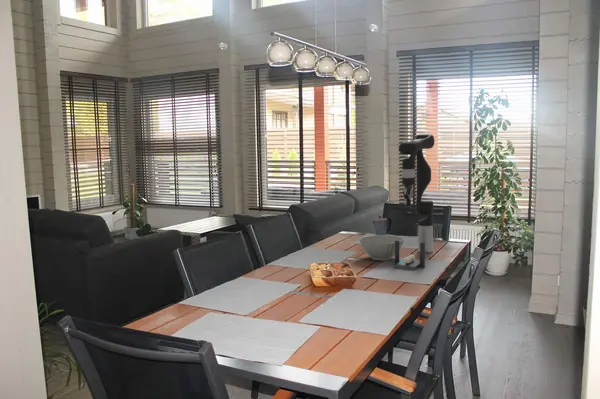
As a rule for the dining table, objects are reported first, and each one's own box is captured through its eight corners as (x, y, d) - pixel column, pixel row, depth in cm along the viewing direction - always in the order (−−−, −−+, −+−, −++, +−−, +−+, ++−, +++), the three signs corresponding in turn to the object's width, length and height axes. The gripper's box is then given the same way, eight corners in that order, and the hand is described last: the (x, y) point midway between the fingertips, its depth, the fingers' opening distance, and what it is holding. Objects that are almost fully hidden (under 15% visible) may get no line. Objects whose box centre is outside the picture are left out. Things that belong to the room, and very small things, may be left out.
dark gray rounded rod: (395, 264, 300) (395, 240, 299) (400, 264, 299) (399, 240, 297) (394, 264, 298) (394, 241, 296) (398, 265, 297) (398, 241, 295)
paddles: (409, 258, 299) (409, 254, 299) (414, 259, 298) (414, 255, 297) (404, 262, 291) (404, 258, 291) (409, 262, 289) (409, 258, 289)
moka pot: (368, 243, 362) (368, 215, 359) (387, 241, 368) (387, 213, 366) (376, 246, 353) (376, 217, 351) (395, 243, 359) (394, 215, 357)
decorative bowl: (403, 263, 300) (403, 243, 299) (357, 262, 306) (357, 242, 304) (403, 253, 326) (403, 235, 325) (361, 253, 332) (361, 234, 331)
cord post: (420, 266, 292) (420, 242, 291) (425, 267, 291) (425, 242, 290) (419, 267, 290) (419, 243, 289) (423, 268, 289) (423, 243, 287)
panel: (404, 262, 304) (404, 257, 304) (424, 264, 298) (424, 259, 298) (394, 267, 291) (394, 263, 291) (415, 270, 285) (415, 265, 284)
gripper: (406, 175, 307) (406, 203, 310) (398, 177, 296) (398, 207, 299) (418, 175, 304) (418, 204, 306) (410, 177, 292) (411, 207, 295)
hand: (408, 205), depth 302 cm, fingers closed
